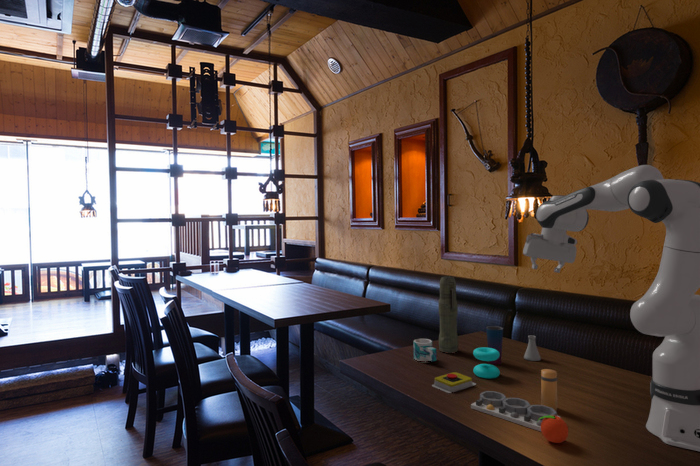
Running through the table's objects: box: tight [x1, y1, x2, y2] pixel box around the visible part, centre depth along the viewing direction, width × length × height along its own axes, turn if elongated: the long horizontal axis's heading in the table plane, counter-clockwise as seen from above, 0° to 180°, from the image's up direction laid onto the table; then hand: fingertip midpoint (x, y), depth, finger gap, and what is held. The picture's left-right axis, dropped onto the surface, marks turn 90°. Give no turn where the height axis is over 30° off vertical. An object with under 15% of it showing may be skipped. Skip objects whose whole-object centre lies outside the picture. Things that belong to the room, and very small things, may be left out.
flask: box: [523, 335, 542, 362], centre depth 191 cm, size 7×7×10 cm
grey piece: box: [470, 390, 562, 433], centre depth 137 cm, size 24×11×3 cm, turn 43°
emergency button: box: [431, 371, 477, 394], centre depth 162 cm, size 9×4×15 cm
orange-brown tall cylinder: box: [540, 368, 558, 412], centre depth 141 cm, size 5×5×12 cm
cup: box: [485, 325, 504, 366], centre depth 187 cm, size 7×7×15 cm
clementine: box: [537, 415, 569, 444], centre depth 120 cm, size 8×7×7 cm
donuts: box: [472, 346, 501, 379], centre depth 172 cm, size 10×10×10 cm
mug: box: [413, 338, 437, 363], centre depth 191 cm, size 8×12×8 cm
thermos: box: [437, 275, 459, 353], centre depth 205 cm, size 9×12×35 cm
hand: (545, 270), depth 173 cm, fingers open, 8 cm apart
